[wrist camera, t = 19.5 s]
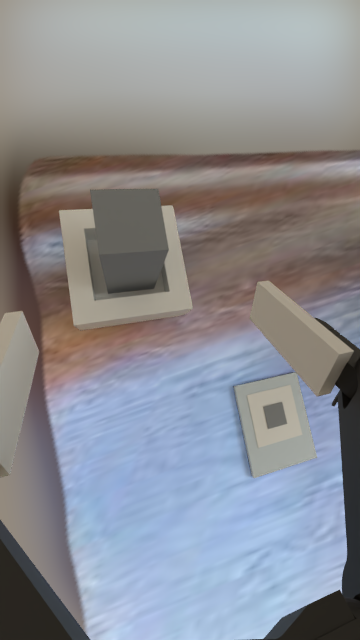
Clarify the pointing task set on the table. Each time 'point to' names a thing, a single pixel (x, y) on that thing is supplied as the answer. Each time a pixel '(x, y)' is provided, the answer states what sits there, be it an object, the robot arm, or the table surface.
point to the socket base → (124, 307)
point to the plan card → (274, 423)
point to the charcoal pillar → (129, 237)
